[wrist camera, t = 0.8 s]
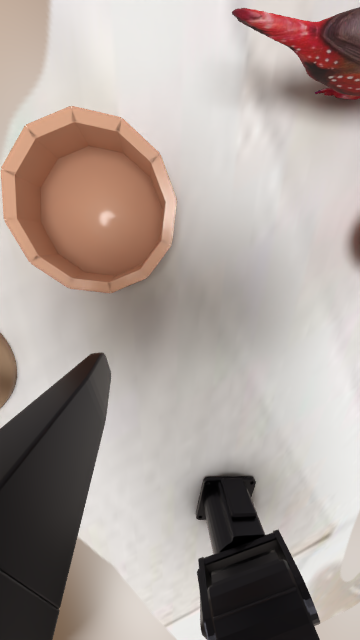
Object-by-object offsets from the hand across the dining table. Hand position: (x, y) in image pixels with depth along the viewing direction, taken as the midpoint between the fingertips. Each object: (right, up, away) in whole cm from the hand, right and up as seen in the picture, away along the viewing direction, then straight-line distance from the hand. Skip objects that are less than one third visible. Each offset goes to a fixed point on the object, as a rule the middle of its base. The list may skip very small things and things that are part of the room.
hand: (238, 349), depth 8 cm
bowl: (-8, +9, +11) cm, 16 cm away
